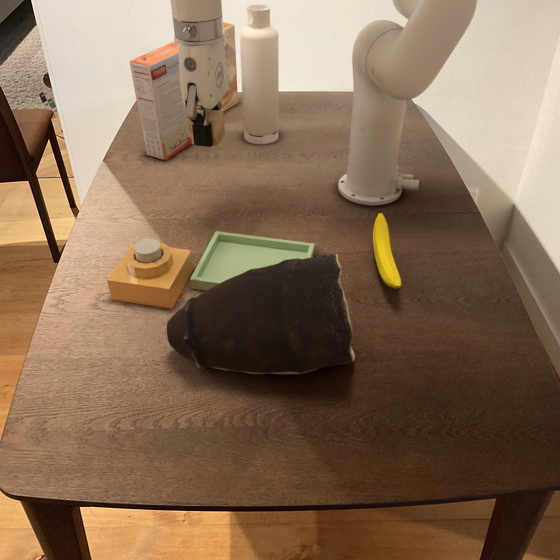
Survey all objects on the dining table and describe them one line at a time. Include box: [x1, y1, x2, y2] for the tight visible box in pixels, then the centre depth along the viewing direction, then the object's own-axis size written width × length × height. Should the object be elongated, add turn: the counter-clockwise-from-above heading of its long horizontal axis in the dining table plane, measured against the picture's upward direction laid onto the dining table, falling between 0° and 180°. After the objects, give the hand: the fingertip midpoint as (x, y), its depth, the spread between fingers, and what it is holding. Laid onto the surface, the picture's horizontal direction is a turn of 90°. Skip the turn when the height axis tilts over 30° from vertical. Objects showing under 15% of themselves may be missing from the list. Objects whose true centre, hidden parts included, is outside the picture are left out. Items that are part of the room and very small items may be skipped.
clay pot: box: [164, 253, 356, 375], centre depth 78 cm, size 15×15×25 cm
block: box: [189, 110, 226, 148], centre depth 99 cm, size 4×4×4 cm
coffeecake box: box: [173, 21, 239, 113], centre depth 140 cm, size 15×7×20 cm, turn 149°
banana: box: [372, 208, 402, 289], centre depth 93 cm, size 3×19×6 cm, turn 1°
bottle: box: [239, 4, 280, 145], centre depth 126 cm, size 8×8×28 cm
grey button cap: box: [134, 238, 162, 264], centre depth 89 cm, size 4×4×2 cm
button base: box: [106, 241, 195, 310], centre depth 91 cm, size 10×10×6 cm
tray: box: [189, 230, 316, 292], centre depth 95 cm, size 18×14×2 cm
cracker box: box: [129, 41, 200, 161], centre depth 124 cm, size 14×6×21 cm, turn 149°
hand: (208, 137), depth 100 cm, fingers closed on block, 4 cm apart
